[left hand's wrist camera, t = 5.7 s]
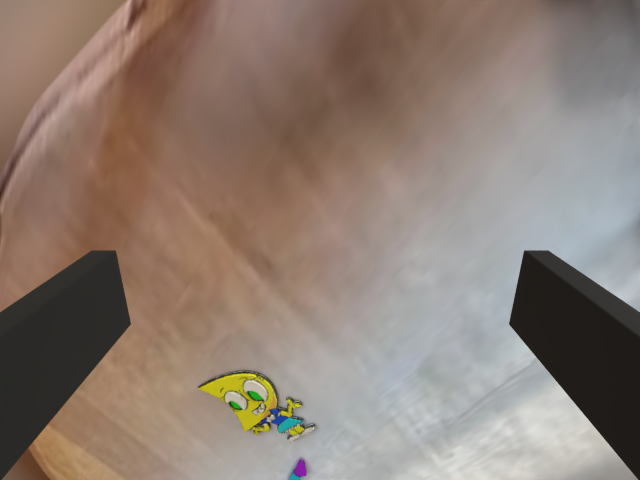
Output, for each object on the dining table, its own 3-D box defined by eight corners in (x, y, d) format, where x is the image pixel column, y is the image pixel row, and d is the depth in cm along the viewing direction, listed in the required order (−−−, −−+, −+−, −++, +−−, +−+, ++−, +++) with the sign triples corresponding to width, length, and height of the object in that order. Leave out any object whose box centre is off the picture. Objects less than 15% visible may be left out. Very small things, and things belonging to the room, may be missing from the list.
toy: (263, 457, 56) (195, 391, 52) (264, 452, 57) (197, 386, 52) (320, 427, 54) (254, 356, 49) (320, 423, 55) (255, 352, 50)
